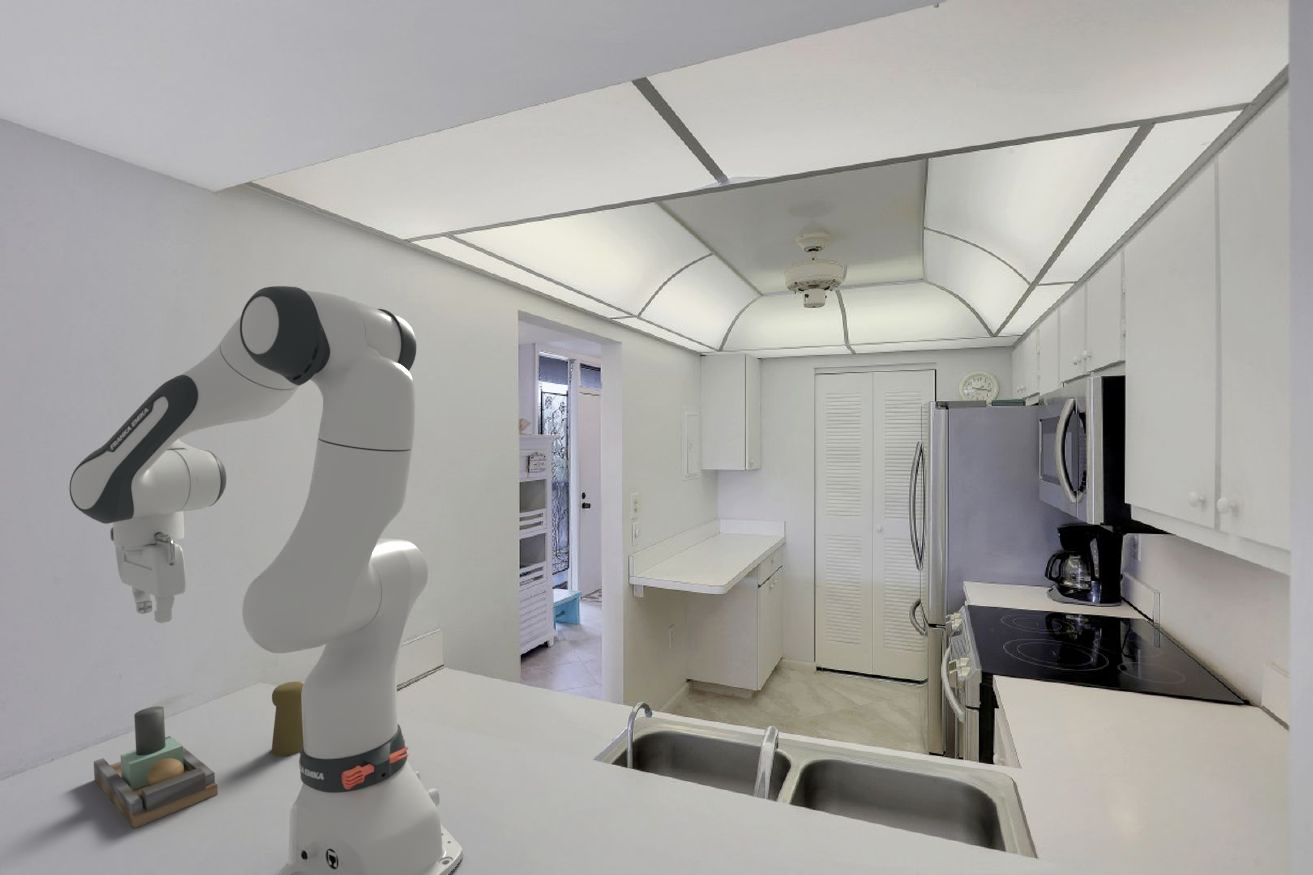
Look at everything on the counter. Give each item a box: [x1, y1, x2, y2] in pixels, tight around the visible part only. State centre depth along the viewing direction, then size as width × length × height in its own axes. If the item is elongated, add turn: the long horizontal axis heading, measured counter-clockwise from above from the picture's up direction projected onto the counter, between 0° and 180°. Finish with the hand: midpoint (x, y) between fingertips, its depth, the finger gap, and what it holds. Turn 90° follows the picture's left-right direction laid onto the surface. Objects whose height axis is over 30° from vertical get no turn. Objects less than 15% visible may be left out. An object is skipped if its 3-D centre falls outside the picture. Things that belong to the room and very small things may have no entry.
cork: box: [271, 681, 304, 757], centre depth 110 cm, size 6×6×11 cm
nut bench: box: [93, 735, 219, 829], centre depth 99 cm, size 22×10×4 cm, turn 52°
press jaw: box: [120, 705, 184, 790], centre depth 99 cm, size 5×7×10 cm
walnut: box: [147, 758, 184, 786], centre depth 95 cm, size 4×4×4 cm
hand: (153, 616), depth 101 cm, fingers open, 8 cm apart
